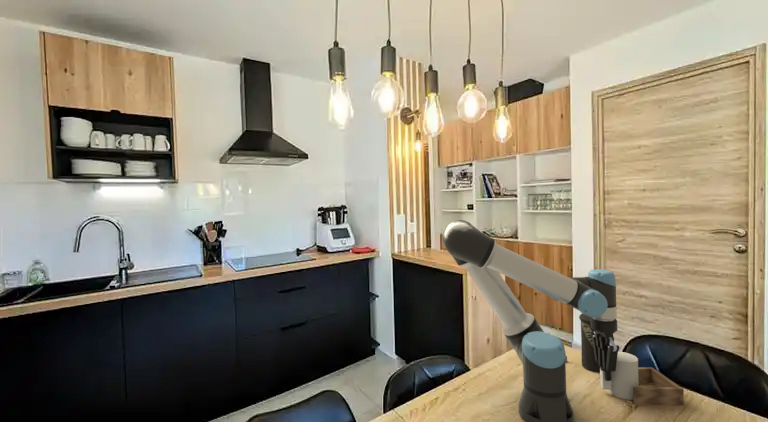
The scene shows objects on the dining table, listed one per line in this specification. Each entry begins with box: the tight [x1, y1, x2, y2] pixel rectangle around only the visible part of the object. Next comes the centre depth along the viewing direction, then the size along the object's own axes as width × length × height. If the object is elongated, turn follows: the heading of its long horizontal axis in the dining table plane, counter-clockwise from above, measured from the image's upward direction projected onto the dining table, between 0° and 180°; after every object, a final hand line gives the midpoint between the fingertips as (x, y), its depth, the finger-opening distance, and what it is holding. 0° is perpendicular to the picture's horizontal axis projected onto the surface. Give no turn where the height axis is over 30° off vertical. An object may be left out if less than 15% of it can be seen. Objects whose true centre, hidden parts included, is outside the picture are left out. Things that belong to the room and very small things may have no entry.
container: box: [578, 313, 600, 373], centre depth 134 cm, size 9×9×20 cm
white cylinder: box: [608, 351, 640, 401], centre depth 116 cm, size 8×8×12 cm
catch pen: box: [632, 366, 685, 406], centre depth 115 cm, size 14×14×5 cm
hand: (606, 388), depth 116 cm, fingers closed
